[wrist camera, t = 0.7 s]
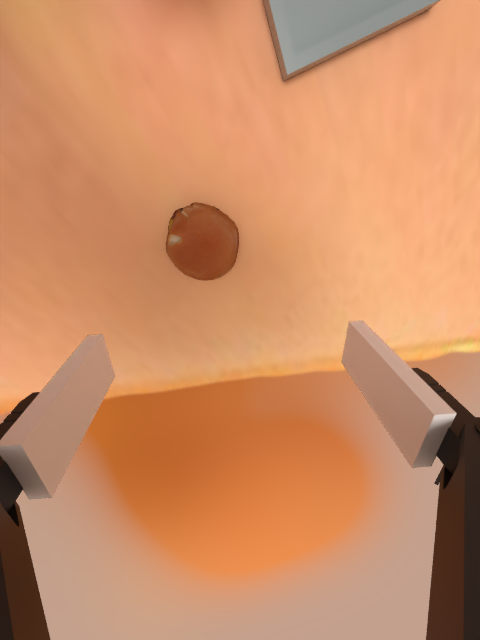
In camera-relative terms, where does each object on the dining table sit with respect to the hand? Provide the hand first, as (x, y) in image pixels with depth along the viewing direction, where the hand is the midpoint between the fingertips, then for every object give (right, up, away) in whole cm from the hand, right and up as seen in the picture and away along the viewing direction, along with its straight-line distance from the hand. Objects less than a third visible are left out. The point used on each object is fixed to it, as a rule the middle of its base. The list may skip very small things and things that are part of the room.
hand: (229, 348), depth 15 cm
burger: (-4, +12, +23) cm, 26 cm away
